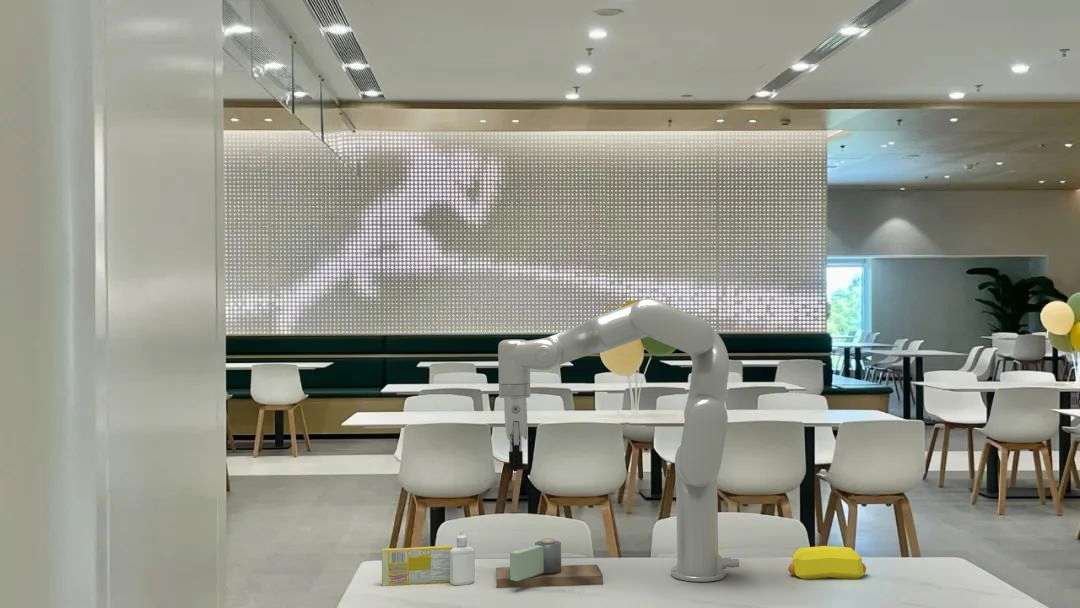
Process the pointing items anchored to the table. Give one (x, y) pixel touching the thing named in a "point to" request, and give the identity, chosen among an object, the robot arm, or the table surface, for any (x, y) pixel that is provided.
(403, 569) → the candy box
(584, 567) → the post base
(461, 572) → the eye dropper bottle
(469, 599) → the table surface
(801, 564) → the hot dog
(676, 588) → the table surface
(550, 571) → the grey and green piece
